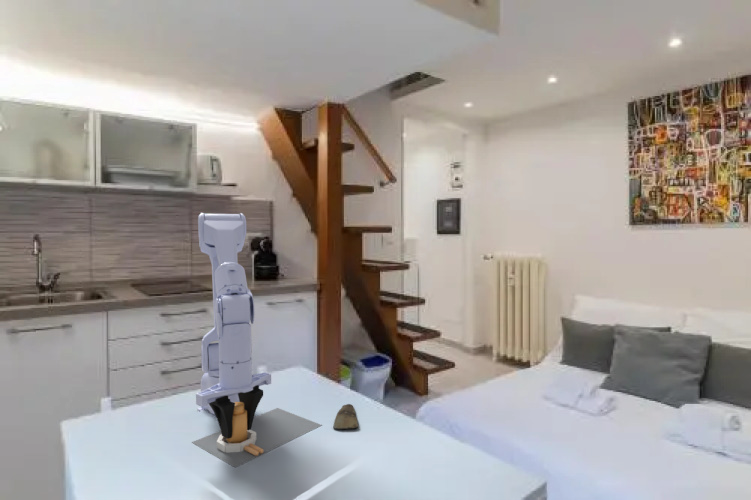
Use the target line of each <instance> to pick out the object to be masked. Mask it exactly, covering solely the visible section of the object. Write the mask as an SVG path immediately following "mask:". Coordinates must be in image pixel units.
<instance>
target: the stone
mask: <svg viewBox="0 0 751 500" xmlns="http://www.w3.org/2000/svg"><path fill="white" fill-rule="evenodd" d="M358 427H359V423H358V418H357V414H356V411H355V407H354V405H353V404H351V403H346V404H344V405H342V406H341V408H340V409H339V411H337V413H336V416H335V419H334V421H333V428H332V429H335V430H349V429H350V430H351V429H355V428H358Z"/></svg>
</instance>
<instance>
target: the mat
mask: <svg viewBox="0 0 751 500" xmlns="http://www.w3.org/2000/svg"><path fill="white" fill-rule="evenodd" d="M321 426H323V425H322V424H320V423H317V422H315V421H312V420H310V419H307V418H305V417H303V416H301V415H297V414H294V413H291V412H289V411H286V410H284V409H282V408H280V407H276V408H274V409H271V410H268V411H266V412H264V413H261V414H259V415H256V416H254V419H253V423H252V427H251V429H250V430H247V440H246V441H244V442H241V443H233V444H230V443H228V442H227V438H225V437H223V436H222V433H221V430H219V431H216V432H214V433H211V434H209V435H205V436H204V437H203V436H202V438H199V439H196V440H193V441H191V444H193V445H195V446H197V447H199V448H200V449H202V450H204V451H206V452H208V453H209V454H210V455H212V456H214V457H216V458H218V459H219V460H221V461H223V462H224V463H226V464H228V465H230V466H231V467H233V468H238V467H240V466H241V465H244V464H247V463H248V462H250V461H253V460H255V459H256V458H258V457H260V456H263V455H264V454H266V453H268V452H271V451H273V450H275V449H277V448H279V447H281V446H283V445H285V444H287V443H289V442H291V441H293V440H295V439H298V438H300V437H302V436H304V435H306V434H307V433H309V432H311V431H313V430H316V429H318V428H320V427H321Z"/></svg>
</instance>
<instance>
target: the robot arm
mask: <svg viewBox="0 0 751 500" xmlns="http://www.w3.org/2000/svg"><path fill="white" fill-rule="evenodd" d="M197 226H198V227H197V228H198V229H197V230H198V231H197V233H198V242H199V243H198V244H199V245H198V246H199V248H200V252H201V253H203V254H205V255H207V256H208V257H209V260H210V264H211V278H212V279H211V280H212V302H213V303H212V304H213V306H212V307H213V326H214V327H213V328H212V329H210V330H209V331H208V332H207V333H206V334H204V336H202V339H201V347H200V348H201V349H200V350H201V351H200V355H201V360H200V361H201V371H202V372H203V375H202V376H201V380H200V392H196V393H195V400H196V401H195V404H196V405H197V406H199V407H197V408H196V409H197V412H203V411H205V410H207V411H208V412H209V413H211V414H212V415H214V416H215V418H216V420H217V422H218V425H219V428H220V431H221V433H222V436H223V437H225V438H227V439H229V438H231V437H232V418H233V411H234V407H235V403H234V402H243V403H244V409H245V410H247V430H250V429H251V427H252V423H253V419H254V417H255V415H256V411H257V409H258V406H259V403H260V402H261V400H262V399H263V397H264V390H263V389H262V388H260V387H261V386H264V385H267V386H270V385H271V384H272V373H270V372H269V373H268V372H265V371H264V372H262V373H261V372H260V373H257V374H253V362H252V361H253V358H252V357H253V356H252V353H253V352H252V325H253V324H254V321H255V315H256V307H255V300H254V297H253V293H252V291H251V288H248V283H247V282H248V281H247V277H246V270H245V268H244V267H243V266H242V265H241V264H240V263H238V260H239V259H238V253H240V252H242V251H243V247H244V245H245V242H246V241H245V239H246V238H247V218H246V216H245V215H244V213H242V212H240V213H204V212H200V214H199V215H198V218H197ZM213 342H214V343H213Z"/></svg>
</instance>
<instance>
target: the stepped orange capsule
mask: <svg viewBox="0 0 751 500" xmlns="http://www.w3.org/2000/svg"><path fill="white" fill-rule="evenodd" d="M234 403H235V407H234V411H233V418H232V437H231V438H229V439H227V442H228V443H230V444H233V443H241V442H244V441H246V440H247V410H245V409H244V403H243V402H234Z"/></svg>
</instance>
